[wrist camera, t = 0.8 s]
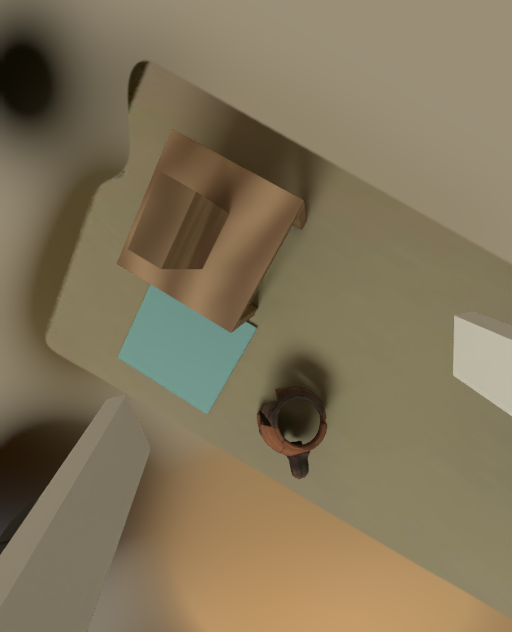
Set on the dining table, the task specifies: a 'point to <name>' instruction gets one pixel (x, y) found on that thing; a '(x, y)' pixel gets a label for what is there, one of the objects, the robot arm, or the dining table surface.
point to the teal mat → (183, 349)
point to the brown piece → (208, 231)
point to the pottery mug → (276, 440)
